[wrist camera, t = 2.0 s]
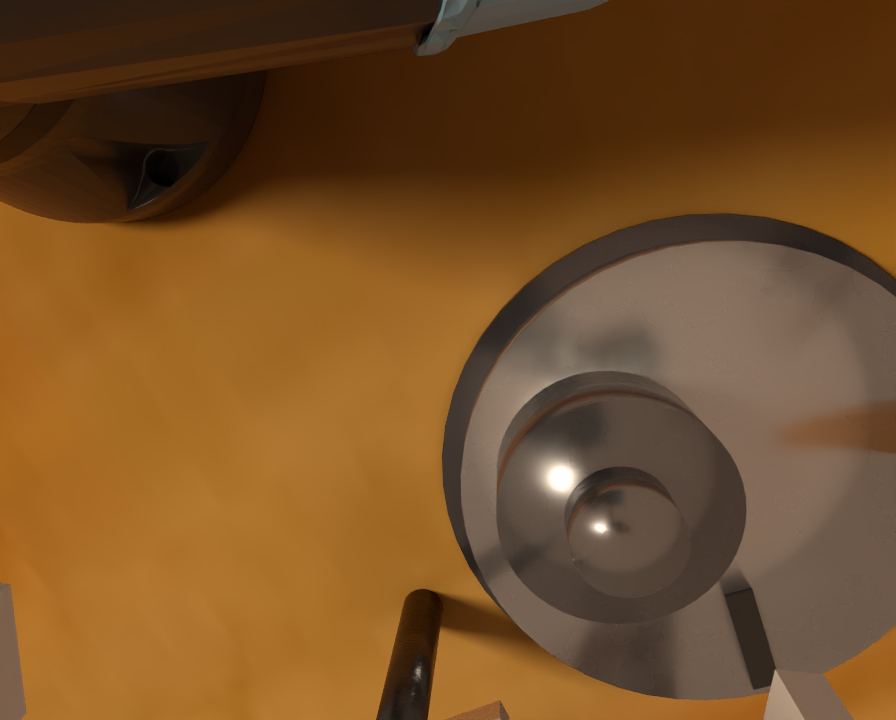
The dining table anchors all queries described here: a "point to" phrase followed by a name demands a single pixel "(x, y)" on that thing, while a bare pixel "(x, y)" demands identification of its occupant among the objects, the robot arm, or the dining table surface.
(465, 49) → the dining table surface
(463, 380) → the plinth
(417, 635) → the indicator post
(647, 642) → the turntable
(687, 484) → the cover
